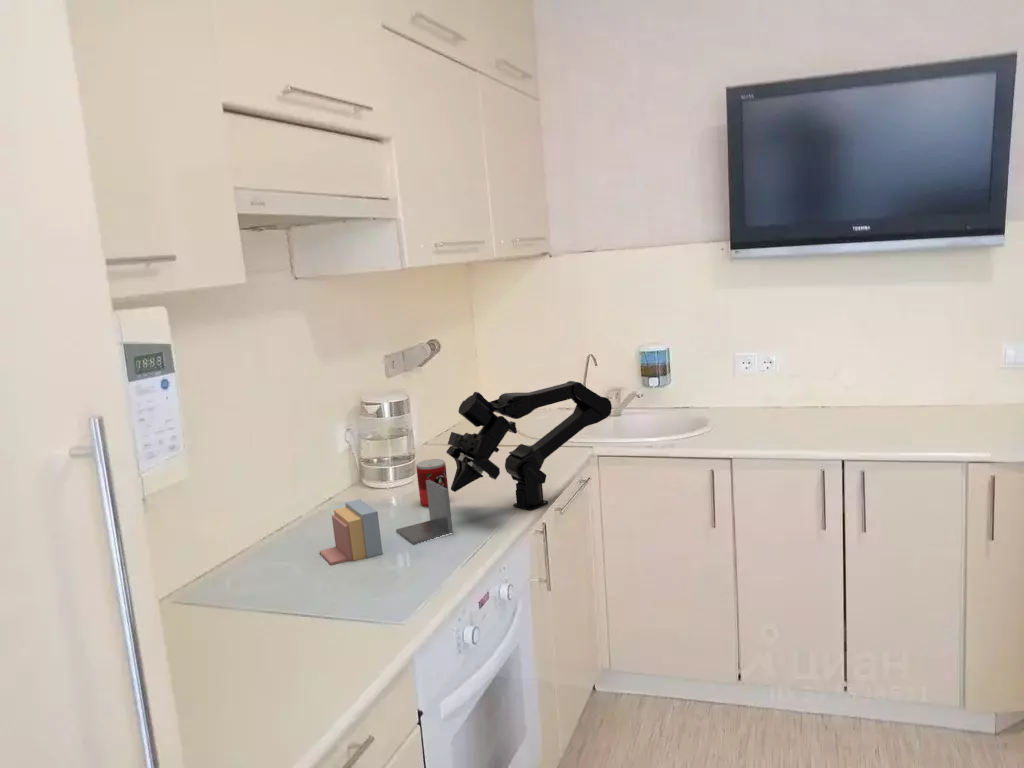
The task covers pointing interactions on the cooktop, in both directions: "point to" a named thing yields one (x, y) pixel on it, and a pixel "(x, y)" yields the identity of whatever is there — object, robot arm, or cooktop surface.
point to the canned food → (430, 476)
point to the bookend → (431, 517)
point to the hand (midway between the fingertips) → (452, 490)
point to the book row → (354, 533)
